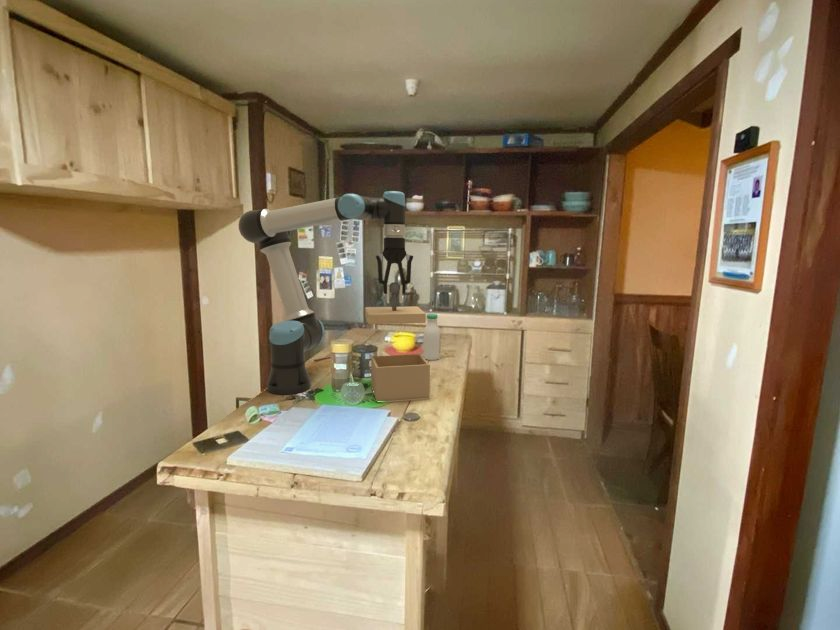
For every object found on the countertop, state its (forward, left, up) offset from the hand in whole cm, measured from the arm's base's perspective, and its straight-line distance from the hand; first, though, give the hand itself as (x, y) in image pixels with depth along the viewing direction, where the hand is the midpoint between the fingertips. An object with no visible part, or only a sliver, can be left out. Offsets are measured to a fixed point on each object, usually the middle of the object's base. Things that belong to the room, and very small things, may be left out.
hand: (394, 302), depth 161 cm
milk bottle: (+22, +31, -31) cm, 49 cm away
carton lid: (0, 0, -6) cm, 6 cm away
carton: (0, -11, -31) cm, 33 cm away
